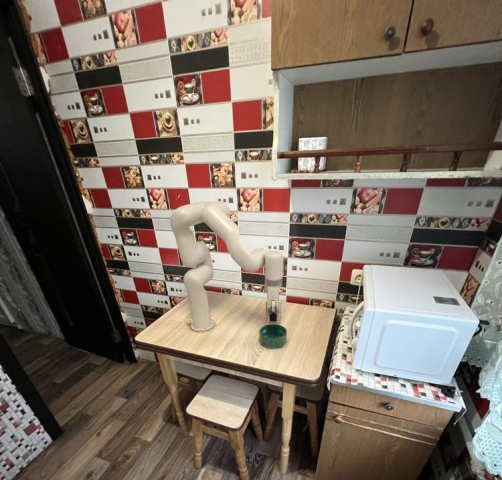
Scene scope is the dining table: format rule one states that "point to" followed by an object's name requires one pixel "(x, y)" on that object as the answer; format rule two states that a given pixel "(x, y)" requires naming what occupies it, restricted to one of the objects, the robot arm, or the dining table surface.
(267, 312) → the white juice carton
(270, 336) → the teal faceted bowl
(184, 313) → the dining table surface
